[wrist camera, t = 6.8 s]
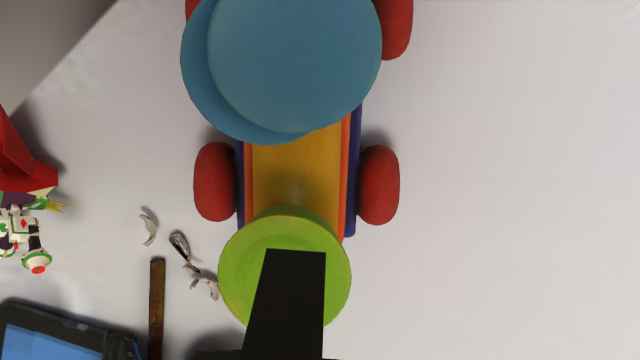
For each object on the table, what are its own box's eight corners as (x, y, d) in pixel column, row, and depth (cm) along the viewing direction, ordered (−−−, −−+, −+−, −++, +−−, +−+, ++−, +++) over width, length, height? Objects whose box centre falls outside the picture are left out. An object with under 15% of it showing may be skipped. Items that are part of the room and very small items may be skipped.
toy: (122, 229, 40) (143, 206, 41) (208, 307, 42) (224, 284, 44) (130, 226, 39) (151, 203, 40) (216, 306, 41) (233, 282, 43)
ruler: (144, 432, 47) (157, 430, 47) (145, 436, 47) (158, 434, 47) (150, 259, 42) (165, 258, 42) (151, 262, 41) (166, 261, 42)
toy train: (210, 362, 45) (152, 580, 29) (195, -66, 35) (95, -88, 19) (378, 365, 45) (412, 585, 29) (409, -59, 35) (484, -76, 19)
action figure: (-15, 277, 33) (87, 277, 37) (6, 94, 34) (105, 111, 37) (-48, 256, 40) (40, 258, 44) (-30, 105, 40) (56, 118, 44)
